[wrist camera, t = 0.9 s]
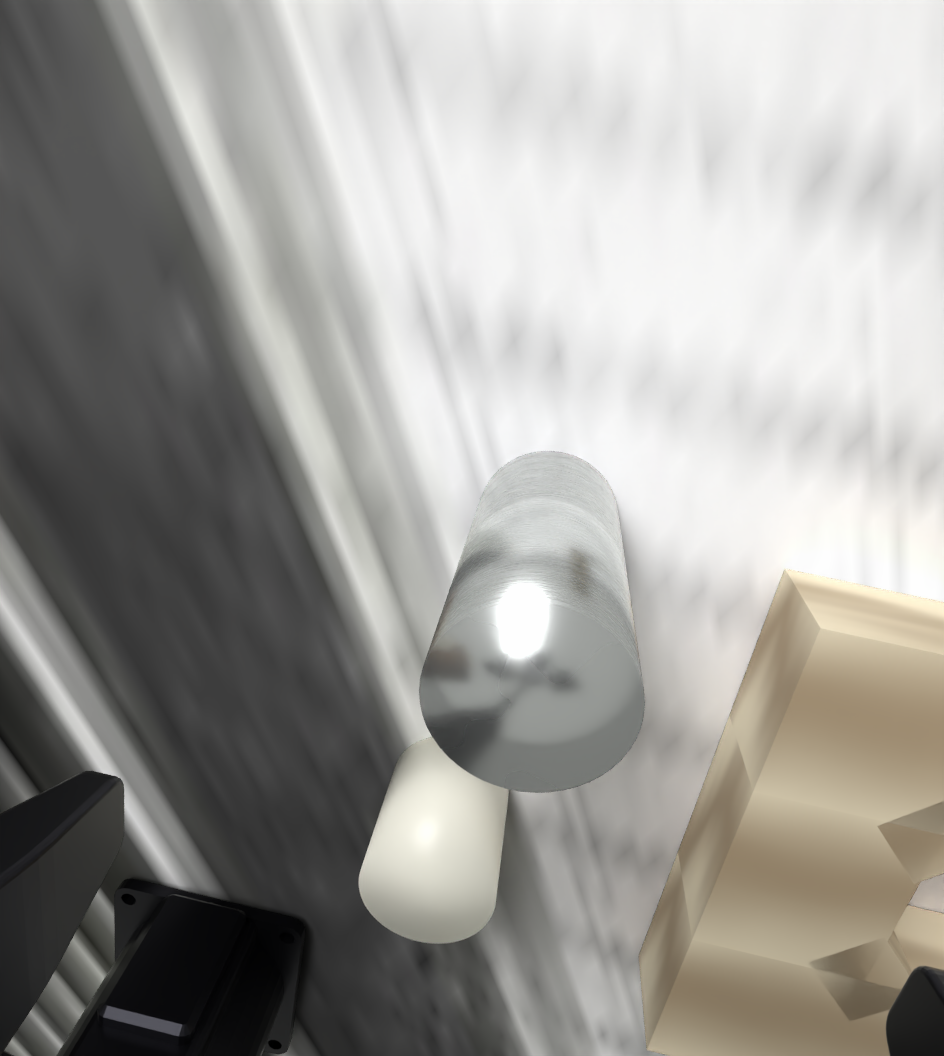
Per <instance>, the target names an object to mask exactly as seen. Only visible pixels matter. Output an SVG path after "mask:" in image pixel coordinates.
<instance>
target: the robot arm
mask: <svg viewBox="0 0 944 1056" xmlns="http://www.w3.org/2000/svg"><path fill="white" fill-rule="evenodd" d="M123 836H124V785H123V782H122V780H121V779H120V778H118V777H116V776H111V775H107V774H103V773H99V772H94V771H85V772H82V773H79V774H77V775H75V776H73V777H71V778H69V779H68V780H66V781H64V782H62V783H60V784H58V785H56V786H54V787H52V788H50V789H48V790H46V791H44V792H42V793H40V794H38V795H36V796H34V797H32V798H30V799H28V800H26V801H24V802H23V803H21V804H19V805H17V806H15V807H13V808H11V809H9V810H7V811H5V812H3V813H1V814H0V1056H13V1055H12V1054H10V1053H8V1052H6V1051H4V1049H5V1048H6V1046H7V1045H8V1043H9V1042H10V1040H11V1039H12V1037H13V1036H14V1034H15V1033H16V1031H17V1030H18V1028H19V1027H20V1025H21V1024H22V1022H23V1021H24V1019H25V1018H26V1016H27V1015H28V1013H29V1012H30V1010H31V1009H32V1007H33V1006H34V1004H35V1003H36V1001H37V999H38V998H39V996H40V995H41V993H42V991H43V990H44V988H45V987H46V985H47V983H48V982H49V980H50V978H51V976H52V974H53V973H54V971H55V969H56V967H57V966H58V964H59V962H60V960H61V958H62V956H63V955H64V953H65V951H66V949H67V947H68V945H69V943H70V941H71V940H72V938H73V936H74V934H75V932H76V930H77V928H78V927H79V925H80V923H81V921H82V919H83V917H84V915H85V913H86V912H87V910H88V908H89V906H90V904H91V902H92V900H93V898H94V897H95V895H96V893H97V891H98V889H99V887H100V885H101V884H102V882H103V880H104V878H105V876H106V874H107V872H108V870H109V869H110V867H111V865H112V863H113V861H114V859H115V857H116V856H117V853H118V851H119V849H120V846H121V844H122V840H123ZM114 909H115V963H114V964H113V966H112V967H111V969H110V971H109V972H108V974H107V976H106V977H105V979H104V980H103V982H102V984H101V985H100V987H99V988H98V990H97V992H96V993H95V995H94V996H93V998H92V1000H91V1001H90V1003H89V1004H88V1006H87V1008H86V1009H85V1011H84V1012H83V1014H82V1016H81V1017H80V1019H79V1020H78V1022H77V1024H76V1025H75V1027H74V1028H73V1030H72V1032H71V1033H70V1035H69V1036H68V1038H67V1040H66V1041H65V1043H64V1045H63V1046H62V1048H61V1049H60V1051H59V1053H58V1054H57V1056H262V1053H263V1051H266V1052H270V1053H274V1054H282V1053H285V1052H286V1051H287V1050H288V1047H289V1044H290V1042H291V1039H292V1034H293V1026H294V1018H295V1010H296V1002H297V995H298V987H299V979H300V971H301V963H302V955H303V947H304V940H305V932H306V931H305V926H304V925H303V923H302V922H300V921H299V920H298V919H295V918H293V917H289V916H285V915H281V914H277V913H272V912H268V911H264V910H260V909H256V908H252V907H248V906H244V905H240V904H236V903H231V902H227V901H223V900H219V899H215V898H211V897H207V896H203V895H199V894H194V893H190V892H186V891H182V890H178V889H174V888H170V887H166V886H162V885H157V884H153V883H149V882H145V881H141V880H137V879H126V880H124V881H123V882H122V883H121V885H120V886H119V888H118V889H117V890H116V892H115V895H114ZM886 1038H887V1044H888V1049H889V1054H890V1056H944V970H942V969H937V968H933V967H929V966H919V967H917V968H915V969H914V970H913V971H912V972H911V974H910V975H909V977H908V979H907V981H906V982H905V984H904V986H903V988H902V989H901V991H900V993H899V995H898V996H897V998H896V1000H895V1001H894V1003H893V1005H892V1007H891V1008H890V1010H889V1012H888V1016H887V1020H886Z"/></svg>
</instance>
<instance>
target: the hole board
mask: <svg viewBox="0 0 944 1056" xmlns="http://www.w3.org/2000/svg"><path fill="white" fill-rule="evenodd" d="M941 874H944V603H943V602H939V601H934V600H929V599H925V598H920V597H915V596H911V595H906V594H901V593H896V592H892V591H887V590H882V589H878V588H873V587H868V586H864V585H859V584H854V583H849V582H845V581H840V580H835V579H831V578H826V577H821V576H816V575H812V574H807V573H802V572H798V571H793V570H788V569H785V570H784V572H783V575H782V578H781V580H780V583H779V586H778V588H777V591H776V594H775V596H774V599H773V602H772V604H771V607H770V609H769V612H768V615H767V617H766V620H765V623H764V625H763V628H762V631H761V633H760V636H759V639H758V641H757V644H756V647H755V649H754V652H753V655H752V657H751V660H750V662H749V665H748V668H747V670H746V673H745V676H744V678H743V681H742V684H741V686H740V689H739V692H738V694H737V697H736V700H735V702H734V705H733V707H732V710H731V713H730V715H729V718H728V721H727V723H726V726H725V729H724V731H723V734H722V737H721V739H720V742H719V745H718V747H717V750H716V753H715V755H714V758H713V760H712V763H711V766H710V768H709V771H708V774H707V776H706V779H705V782H704V784H703V787H702V790H701V792H700V795H699V798H698V800H697V803H696V806H695V808H694V811H693V813H692V816H691V819H690V821H689V824H688V827H687V829H686V832H685V835H684V837H683V840H682V843H681V845H680V848H679V851H678V853H677V856H676V858H675V861H674V864H673V866H672V869H671V872H670V874H669V877H668V880H667V882H666V885H665V888H664V890H663V893H662V896H661V898H660V901H659V904H658V906H657V909H656V911H655V914H654V917H653V919H652V922H651V925H650V927H649V930H648V933H647V935H646V938H645V941H644V943H643V946H642V949H641V951H640V954H639V966H640V978H641V989H642V1001H643V1013H644V1025H645V1037H646V1048H647V1050H648V1051H652V1052H657V1053H661V1054H665V1055H669V1056H890V1054H889V1049H888V1044H887V1038H886V1020H887V1016H888V1012H889V1010H890V1008H891V1007H892V1005H893V1003H894V1001H895V1000H896V998H897V996H898V995H899V993H900V991H901V989H902V988H903V986H904V984H905V982H906V981H907V979H908V977H909V975H910V974H911V972H912V971H913V970H914V969H915V968H917V967H919V966H929V967H933V968H937V969H942V970H944V914H943V913H938V912H934V911H930V910H925V909H921V908H917V907H913V906H908V903H909V902H910V900H911V898H912V896H913V894H914V893H915V891H916V889H917V887H918V885H919V884H920V882H921V881H924V880H926V879H929V878H932V877H935V876H938V875H941Z"/></svg>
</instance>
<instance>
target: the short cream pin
mask: <svg viewBox="0 0 944 1056" xmlns="http://www.w3.org/2000/svg"><path fill="white" fill-rule="evenodd" d="M508 797H509V789H506V788H503V787H499V786H496V785H493V784H490V783H488V782H485V781H483V780H481V779H479V778H477V777H475V776H473V775H471V774H470V773H468V772H467V771H465V770H464V769H462V768H461V767H459V766H458V765H457V764H456V763H455V762H454V761H452V760H451V759H450V758H449V757H448V756H447V755H446V754H445V753H444V752H443V751H442V749H441V748H440V747H439V746H438V744H437V743H436V741H435V740H434V739H433V737H430V738H426V739H423V740H421V741H418V742H416V743H415V744H413V745H411V746H410V747H409V748H407V749H406V750H405V751H404V752H403V753H402V755H401V756H400V758H399V759H398V761H397V763H396V766H395V769H394V772H393V775H392V778H391V781H390V784H389V787H388V790H387V793H386V796H385V799H384V802H383V805H382V808H381V811H380V814H379V817H378V820H377V823H376V826H375V829H374V832H373V835H372V837H371V840H370V843H369V846H368V849H367V852H366V855H365V858H364V861H363V864H362V867H361V871H360V875H359V891H360V895H361V898H362V900H363V902H364V904H365V906H366V908H367V909H368V911H369V912H370V913H371V914H372V916H373V917H374V918H375V919H376V920H377V921H378V922H380V923H381V924H382V925H383V926H385V927H386V928H388V929H389V930H391V931H392V932H394V933H396V934H398V935H400V936H403V937H405V938H408V939H411V940H415V941H419V942H424V943H433V944H443V943H452V942H457V941H460V940H463V939H466V938H468V937H471V936H473V935H474V934H476V933H477V932H479V931H480V930H481V929H482V928H484V927H485V926H486V924H487V923H488V922H489V921H490V919H491V917H492V915H493V913H494V910H495V905H496V897H497V889H498V880H499V872H500V864H501V855H502V847H503V839H504V830H505V822H506V813H507V805H508Z"/></svg>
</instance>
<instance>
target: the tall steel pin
mask: <svg viewBox="0 0 944 1056" xmlns="http://www.w3.org/2000/svg"><path fill="white" fill-rule="evenodd" d="M419 695H420V705H421V710H422V715H423V717H424V720H425V723H426V726H427V728H428V730H429V731H430V733H431V735H432V737H433V739H434V740H435V741H436V743H437V744H438V746H439V747H440V748H441V749H442V751H443V752H444V753H445V754H446V755H447V756H448V757H449V758H450V759H451V760H452V761H454V762H455V763H456V764H457V765H458V766H459V767H461V768H462V769H464V770H465V771H467V772H468V773H470V774H471V775H473V776H475V777H477V778H479V779H481V780H483V781H485V782H488V783H490V784H493V785H496V786H499V787H503V788H506V789H510V790H516V791H522V792H535V793H538V792H554V791H561V790H566V789H570V788H574V787H578V786H580V785H583V784H585V783H588V782H590V781H592V780H594V779H596V778H598V777H600V776H602V775H603V774H604V773H606V772H607V771H609V770H610V769H612V768H613V767H614V766H615V765H616V764H617V763H618V762H619V761H620V760H622V758H623V757H624V756H625V755H626V753H627V752H628V751H629V750H630V748H631V747H632V745H633V743H634V742H635V740H636V738H637V736H638V733H639V731H640V728H641V725H642V721H643V716H644V706H645V699H644V688H643V681H642V674H641V667H640V660H639V654H638V647H637V640H636V633H635V626H634V619H633V612H632V605H631V598H630V591H629V584H628V577H627V570H626V564H625V557H624V550H623V543H622V536H621V529H620V522H619V515H618V508H617V503H616V499H615V496H614V494H613V491H612V489H611V487H610V486H609V484H608V482H607V481H606V480H605V478H604V477H603V476H602V475H601V474H600V473H599V472H598V471H597V470H596V469H595V468H594V467H593V466H591V465H590V464H589V463H587V462H585V461H584V460H582V459H580V458H578V457H575V456H573V455H570V454H566V453H562V452H555V451H541V452H533V453H529V454H525V455H523V456H520V457H517V458H515V459H514V460H512V461H510V462H508V463H507V464H506V465H504V466H503V467H501V468H500V469H499V470H498V471H497V472H496V473H495V474H494V476H493V477H492V478H491V479H490V481H489V482H488V484H487V486H486V487H485V490H484V492H483V494H482V497H481V500H480V503H479V506H478V509H477V512H476V514H475V517H474V520H473V523H472V526H471V529H470V532H469V535H468V538H467V541H466V544H465V546H464V549H463V552H462V555H461V558H460V561H459V564H458V567H457V570H456V573H455V576H454V579H453V581H452V584H451V587H450V590H449V593H448V596H447V599H446V602H445V605H444V608H443V611H442V614H441V616H440V619H439V622H438V625H437V628H436V631H435V634H434V637H433V640H432V643H431V646H430V649H429V651H428V654H427V657H426V660H425V663H424V666H423V670H422V674H421V678H420V687H419Z"/></svg>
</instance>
